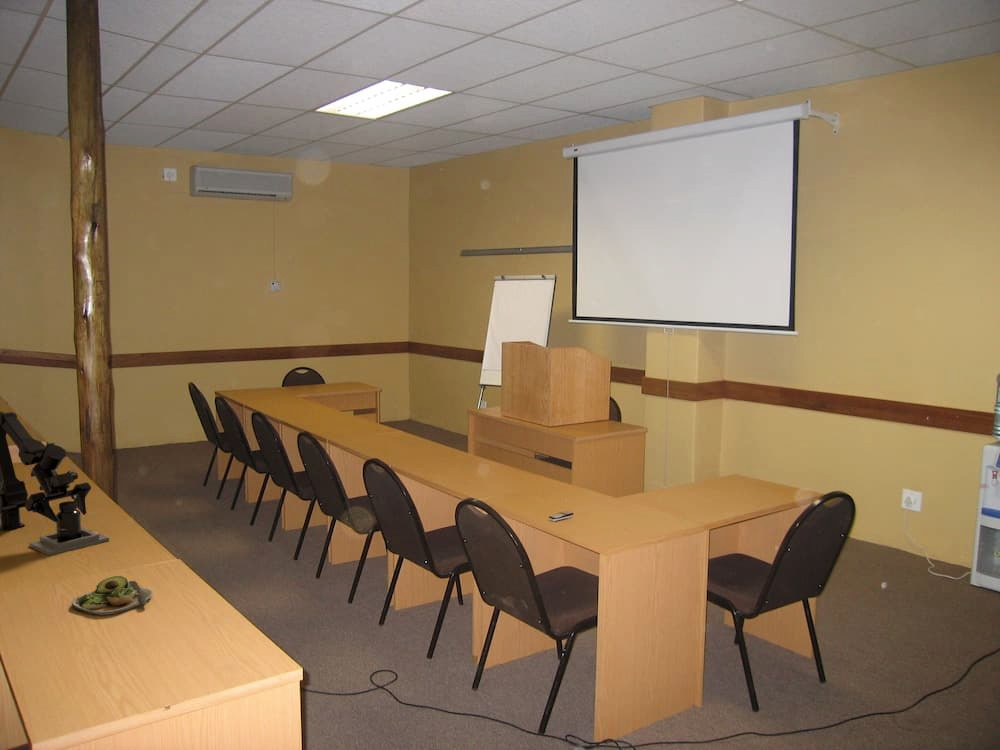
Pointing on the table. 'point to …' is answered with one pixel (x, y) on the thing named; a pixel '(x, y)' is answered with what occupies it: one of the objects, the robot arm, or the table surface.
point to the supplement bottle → (68, 522)
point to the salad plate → (113, 596)
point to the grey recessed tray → (67, 542)
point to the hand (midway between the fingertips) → (71, 517)
